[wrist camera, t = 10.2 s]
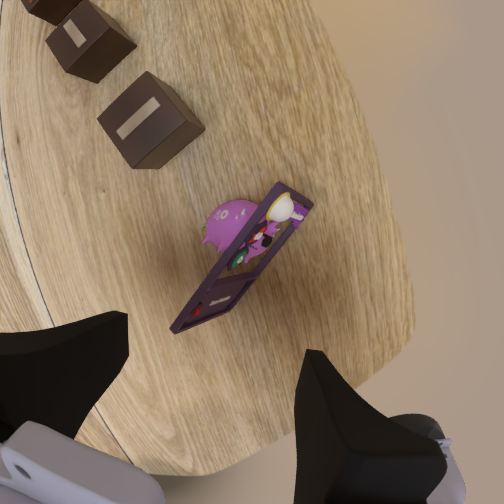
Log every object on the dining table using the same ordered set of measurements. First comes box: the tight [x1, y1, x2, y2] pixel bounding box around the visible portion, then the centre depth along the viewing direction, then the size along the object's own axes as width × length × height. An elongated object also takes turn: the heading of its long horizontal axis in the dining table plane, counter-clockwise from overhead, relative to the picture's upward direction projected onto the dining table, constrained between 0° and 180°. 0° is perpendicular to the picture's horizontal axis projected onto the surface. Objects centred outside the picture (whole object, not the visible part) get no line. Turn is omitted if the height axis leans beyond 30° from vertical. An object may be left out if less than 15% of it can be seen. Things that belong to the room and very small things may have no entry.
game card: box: [169, 181, 314, 334], centre depth 18 cm, size 7×5×9 cm
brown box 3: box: [97, 71, 205, 169], centre depth 18 cm, size 4×4×4 cm
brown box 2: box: [45, 0, 137, 84], centre depth 16 cm, size 4×4×4 cm
